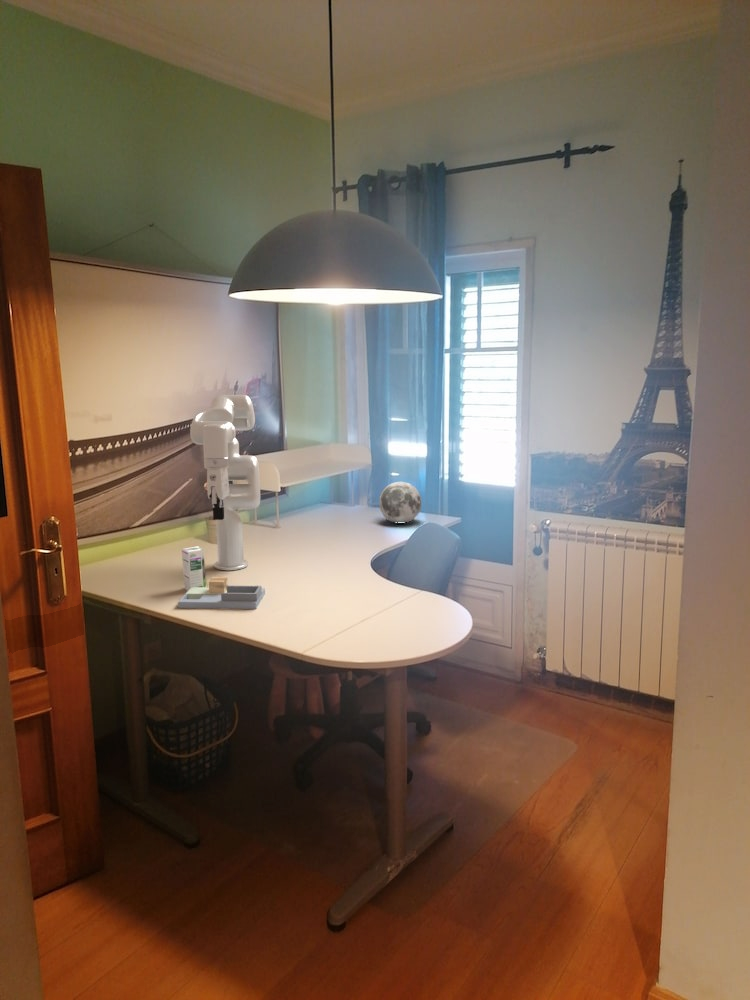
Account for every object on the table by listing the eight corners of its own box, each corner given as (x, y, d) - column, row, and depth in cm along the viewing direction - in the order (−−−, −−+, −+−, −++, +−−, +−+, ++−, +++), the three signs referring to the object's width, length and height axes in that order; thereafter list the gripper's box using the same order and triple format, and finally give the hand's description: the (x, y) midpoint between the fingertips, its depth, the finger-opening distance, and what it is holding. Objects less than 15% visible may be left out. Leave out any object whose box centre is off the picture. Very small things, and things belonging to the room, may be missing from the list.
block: (213, 588, 247) (212, 576, 246) (227, 588, 247) (227, 577, 246) (209, 593, 242) (208, 581, 241) (224, 593, 242) (223, 581, 241)
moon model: (377, 518, 359) (377, 478, 355) (418, 518, 360) (418, 478, 356) (380, 528, 339) (380, 485, 335) (423, 527, 340) (424, 485, 336)
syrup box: (190, 592, 248) (188, 551, 246) (183, 588, 253) (181, 547, 250) (206, 589, 252) (204, 548, 249) (199, 585, 256) (197, 545, 254)
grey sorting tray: (191, 592, 248) (191, 580, 248) (264, 593, 247) (264, 580, 247) (178, 607, 234) (177, 594, 233) (256, 608, 233) (255, 595, 232)
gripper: (222, 466, 226) (224, 524, 229) (233, 459, 240) (235, 514, 244) (198, 466, 226) (201, 524, 230) (210, 459, 241) (213, 514, 244)
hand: (218, 519), depth 237 cm, fingers closed
